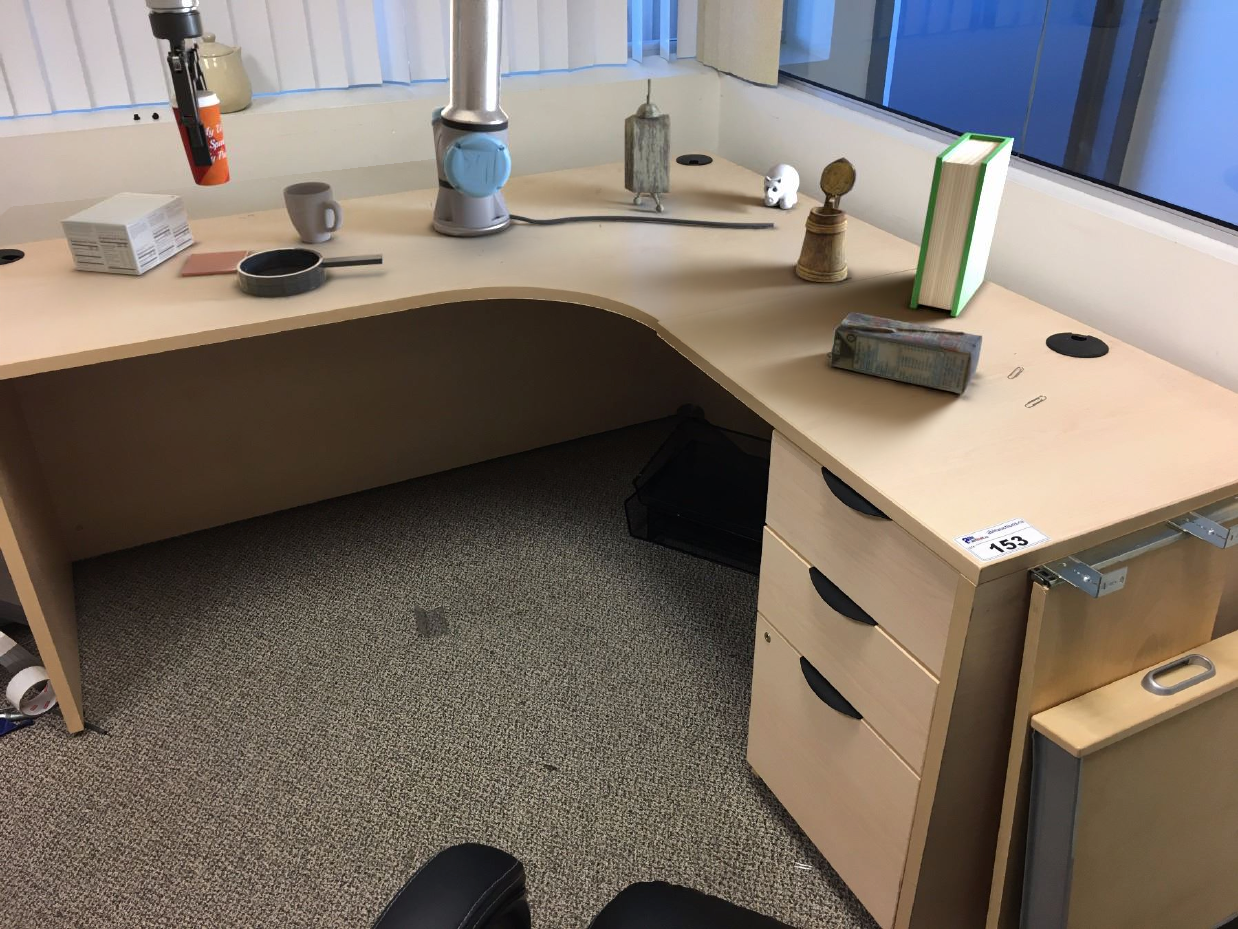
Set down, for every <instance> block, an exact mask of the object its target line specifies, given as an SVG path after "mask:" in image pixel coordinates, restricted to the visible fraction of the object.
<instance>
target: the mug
mask: <svg viewBox="0 0 1238 929" xmlns="http://www.w3.org/2000/svg"><path fill="white" fill-rule="evenodd" d="M282 192H283V199H284V203H285V207H286V210H287V214H288V216H289V219H290V221H291V223H292V225H293V227H294V229H295V231H296V232H297V234H299V237H300V238H301V241H303V242H304V243H308V244H317V243H322V242H326V241H328V240H330V239H331V234H332V233H335V232H337V231H339V230H340V229H341V228H342V225H343V220H344V215H343V210H342V207H341V205H340V204H339V202H338V201H336V200H334V194H333V189H332V186H331V184H329V183H326V182H319V181H307V182H298V183H294V184H291V185H288V186H286V187H285V188H284V189H283V191H282Z"/></svg>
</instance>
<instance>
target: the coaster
mask: <svg viewBox="0 0 1238 929" xmlns="http://www.w3.org/2000/svg"><path fill="white" fill-rule="evenodd" d="M248 256H249V250H237V251H235V250H234V251H221V252H206V253H205V252H204V253H194V254H193V253H192V254H190V256H189V258H188V260H187V262H186V264H185V265H184V267H183V269H182V271H181V273H180V276H181V277H192V276H194V277H195V276H206V275H221V274H222V275H223V274H235V273H237V270H236V266H237V264H238V262H240V261H241V260H242V259H244V258H246V257H248Z"/></svg>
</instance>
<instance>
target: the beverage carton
mask: <svg viewBox="0 0 1238 929" xmlns="http://www.w3.org/2000/svg"><path fill="white" fill-rule="evenodd" d="M982 343H983V335H981V334H980V335H978V334H973V333H969V332H964V331H956V330H952V329H944V328H940V327H934V326H929V325H923V324H918V323H917V324H916V323H911V322H907V321H906V322H905V321H900V320H896V319H891V318H886V317H879V316H874V315H869V314H865V313H861V312H860V313H859V312H855V311H851V312H850V313H848V315H847V316H846V317H845V318H844V319H843V320H842V321H841V322H840V323H839V324H838V325H837V327H835V329H834V331H833V342H832V347H831V353H830V366H831V367H836V368H841V369H845V370H850V371H854V372H858V373H861V374H866V375H871V376H876V377H880V378H884V379H889V380H895V381H899V382H905V383H910V384H914V385H920V386H924V387H928V388H933V389H939V390H942V391H947V392H952V393H955V394H959V395H963V394H964V393H965V391H966V390H967V388H968V386H969V384H970V383H971V381H972V380H973V378H974V376H975V375H976V372H977V368H978V365H979V362H980V355H981V351H982Z"/></svg>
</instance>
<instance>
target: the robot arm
mask: <svg viewBox="0 0 1238 929" xmlns="http://www.w3.org/2000/svg"><path fill="white" fill-rule="evenodd" d="M144 1H145V5H146V7H147V8H148V9H151V10H150V11H149V13H148V14H147V16H148V19H149V20H148V21H149V24H150V28H151V32H152V36H154V38H156V39H158V40H167V41H168V43H169V50H170V51H168V52H167V56H166V62H167V64H168V67H169V72H170V75H171V80H172V85H173V90H174V94H175V95H176V100H177V105H178V110H179V115H180V121H178V122H179V125H180V126H185V128H186V132H187V136H188V140H189V145H190V149H191V153H192V157H193V161H194V166H195V167H202V166H212V165H213V163H212V159H211V154H210V150H209V145H208V141H207V137H206V132H205V128H204V124H201V123H202V121H201V117H200V110H199V104H198V97H197V91H199V90H201V91H210V90H209V85H208V82H207V76H206V74H205V70H204V66H203V61H202V58H201V57H202V56H201V53H200V45H199V43H198V42H193V39H198V38H201V37H203V36H204V35H205V28H204V23H203V19H202V14H201V11H199V9H197V7H198V6H199V5H200V4H199V0H144ZM449 4H450V8H449V10H450V12H449V14H450V15H449V17H450V18H449V20H450V22H449V23H450V24H449V26H450V27H449V30H450V37H449V38H450V39H449V40H450V41H449V42H450V43H449V45H450V46H449V47H450V48H449V50H450V52H449V54H450V56H449V59H450V60H449V65H450V66H449V70H450V71H449V74H450V75H449V82H450V83H449V104H443V105H437V106H435V107H433V109H431V120H430V121H431V122H430V125H431V126H432V132H433V142H434V152H435V153H434V154H435V162H436V170H437V171H436V172H437V180H438V191H437V197H436V201H435V205H434V209H433V203H432V200H431V199H430V201H429V202H430V206H431V210H433V216H432V222H433V229H435V231H437V232H438V233H440V234H443V235H448V236H451V237H453V236H454V237H463V238H464V237H465V238H466V237H467V238H468V237H482V236H488V235H493V234H497V233H499V232H502V231H504V230H506V229H507V228H509V227H510V225H511V220H513V221H514V220H515V221H520V222H524V223H528V224H533V225H555V224H560V223H562V224H563V223H568V222H584V221H635V222H655V223H666V224H680V225H691V226H707V227H720V228H775V227H774V226H775V224H774V222H725V221H724V222H723V221H710V220H708V221H706V220H693V219H682V218H669V217H653V216H638V215H637V216H636V215H586V216H569V217H568V216H567V217H561V218H559V217H558V218H552V219H534V218H529V217H526V216H520V215H515V214H511V212H510V210H509V207H508V204H507V202H506V199H505V197H504V195H503V192H502V188H504V186H505V185H506V183H507V182H508V180H509V177H510V175H511V170H512V169H511V168H512V159H511V154H510V152H509V149H508V140H509V138H508V134H509V115H507V113H505V111H504V110H503V109H502V107H501V80H502V79H501V78H502V77H501V76H502V42H503V10H504V8H503V7H504V5H503V4H504V0H450V2H449ZM187 115H192V116H187Z"/></svg>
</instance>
